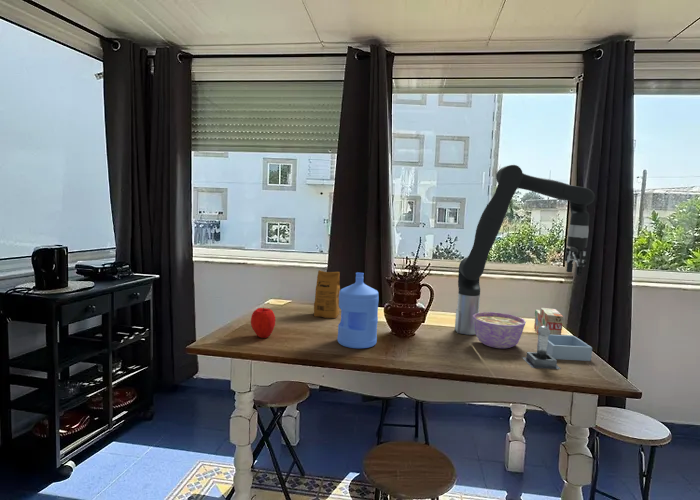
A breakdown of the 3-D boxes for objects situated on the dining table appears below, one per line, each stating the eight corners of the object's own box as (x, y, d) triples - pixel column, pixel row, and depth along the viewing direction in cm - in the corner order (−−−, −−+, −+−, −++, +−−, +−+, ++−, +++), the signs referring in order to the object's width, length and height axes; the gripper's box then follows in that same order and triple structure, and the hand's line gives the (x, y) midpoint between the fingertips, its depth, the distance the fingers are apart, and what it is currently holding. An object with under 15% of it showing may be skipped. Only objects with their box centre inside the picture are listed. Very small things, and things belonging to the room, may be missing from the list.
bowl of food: (465, 337, 183) (467, 311, 182) (513, 339, 182) (515, 313, 181) (478, 354, 163) (480, 324, 162) (531, 356, 163) (534, 326, 161)
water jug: (356, 334, 182) (359, 268, 179) (384, 343, 171) (388, 274, 168) (329, 341, 171) (331, 271, 168) (357, 352, 160) (360, 278, 157)
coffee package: (317, 311, 216) (318, 268, 213) (341, 314, 213) (343, 270, 210) (310, 316, 206) (312, 271, 204) (335, 319, 203) (337, 273, 201)
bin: (551, 361, 158) (553, 345, 158) (537, 348, 172) (538, 333, 171) (590, 363, 158) (592, 347, 157) (572, 350, 172) (574, 335, 171)
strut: (537, 364, 151) (540, 327, 150) (532, 360, 156) (535, 324, 154) (549, 365, 151) (553, 328, 150) (544, 361, 156) (548, 324, 154)
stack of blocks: (533, 328, 201) (535, 302, 199) (547, 330, 200) (550, 304, 198) (544, 343, 180) (547, 314, 179) (560, 344, 179) (563, 315, 177)
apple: (245, 336, 173) (245, 306, 172) (265, 331, 181) (266, 303, 179) (259, 342, 167) (260, 311, 165) (280, 337, 174) (280, 307, 172)
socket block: (531, 370, 149) (532, 360, 148) (521, 359, 159) (522, 350, 158) (561, 371, 148) (562, 362, 148) (549, 361, 158) (549, 352, 158)
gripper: (561, 234, 190) (557, 270, 192) (577, 236, 176) (573, 276, 177) (578, 235, 189) (574, 271, 191) (595, 237, 175) (591, 277, 177)
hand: (573, 273), depth 184 cm, fingers open, 8 cm apart
